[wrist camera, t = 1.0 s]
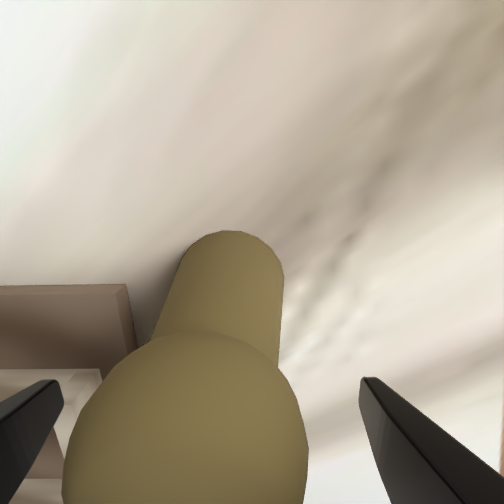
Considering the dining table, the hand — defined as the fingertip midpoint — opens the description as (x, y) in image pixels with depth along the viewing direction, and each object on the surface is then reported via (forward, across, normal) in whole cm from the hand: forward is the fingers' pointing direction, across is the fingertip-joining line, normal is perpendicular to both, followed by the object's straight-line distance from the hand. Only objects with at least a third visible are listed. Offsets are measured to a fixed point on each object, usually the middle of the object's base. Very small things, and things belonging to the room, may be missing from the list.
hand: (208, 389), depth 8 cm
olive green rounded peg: (+8, 0, 0) cm, 8 cm away
